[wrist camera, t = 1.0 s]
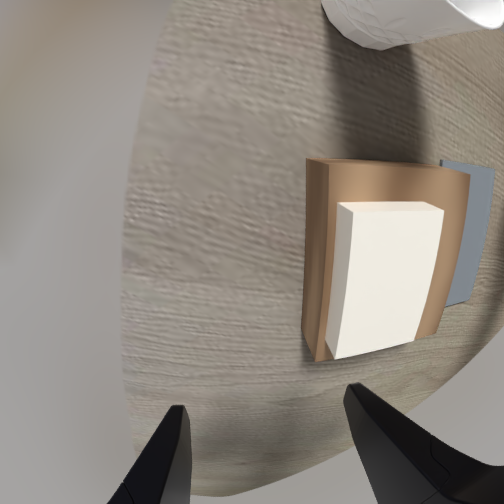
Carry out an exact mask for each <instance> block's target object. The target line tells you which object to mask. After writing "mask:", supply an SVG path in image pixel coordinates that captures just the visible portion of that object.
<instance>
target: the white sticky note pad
mask: <svg viewBox="0 0 504 504" xmlns="http://www.w3.org/2000/svg"><path fill="white" fill-rule="evenodd" d="M443 216H444V210H442V209H440V208H437V207H435V206H433V205H430V204H428V203H426V202H339V203H337V217H336V235H335V250H334V263H333V274H332V285H331V294H330V304H329V312H328V321H327V328H326V336H325V341H326V343H327V345H328V347H329V349H330V351H331V353H332V355H333V357H334V359H340V358H345V357H350V356H354V355H359V354H363V353H368V352H372V351H376V350H380V349H384V348H388V347H392V346H396V345H400V344H404V343H407V342H411V341H414V338H415V335H416V332H417V329H418V326H419V323H420V320H421V316H422V313H423V310H424V306H425V303H426V299H427V295H428V291H429V288H430V284H431V279H432V275H433V271H434V266H435V262H436V257H437V252H438V247H439V241H440V236H441V230H442V223H443Z"/></svg>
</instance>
